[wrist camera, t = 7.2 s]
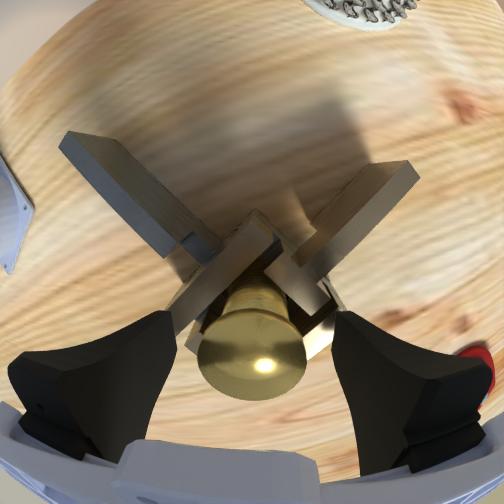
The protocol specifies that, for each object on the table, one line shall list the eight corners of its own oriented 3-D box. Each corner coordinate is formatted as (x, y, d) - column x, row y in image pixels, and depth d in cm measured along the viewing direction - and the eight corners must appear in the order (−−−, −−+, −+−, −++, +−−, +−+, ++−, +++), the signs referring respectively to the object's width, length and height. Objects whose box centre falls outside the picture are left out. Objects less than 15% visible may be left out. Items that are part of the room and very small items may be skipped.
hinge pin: (217, 274, 17) (176, 360, 9) (258, 233, 16) (249, 294, 8) (259, 311, 17) (253, 413, 9) (300, 274, 17) (328, 362, 8)
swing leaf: (257, 348, 18) (254, 397, 13) (182, 284, 17) (155, 321, 12) (405, 210, 15) (449, 223, 10) (336, 128, 14) (365, 110, 9)
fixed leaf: (331, 283, 17) (354, 322, 12) (257, 346, 18) (254, 397, 13) (143, 105, 14) (101, 83, 9) (84, 184, 16) (35, 190, 11)
